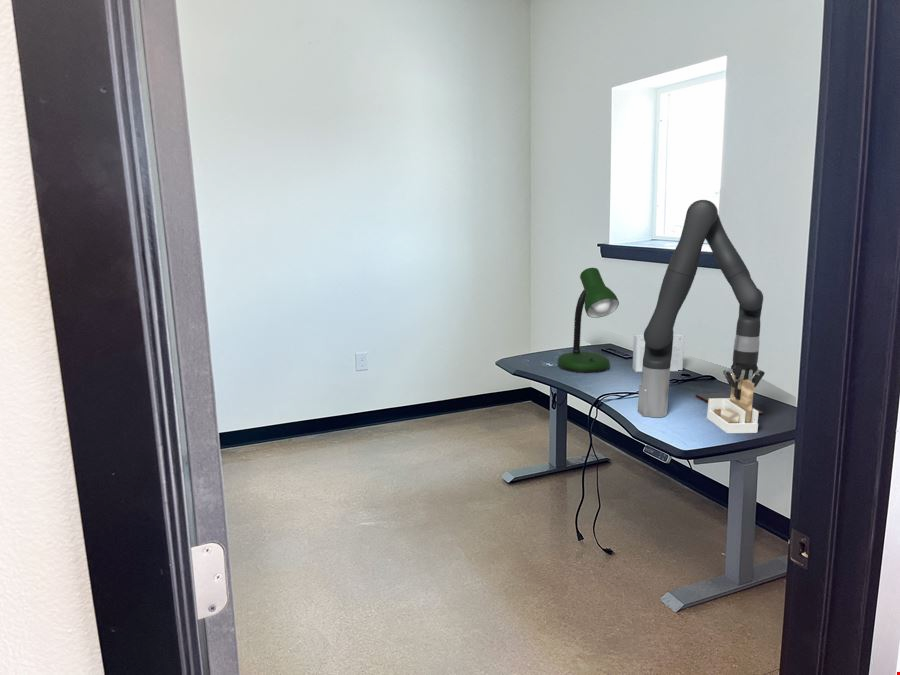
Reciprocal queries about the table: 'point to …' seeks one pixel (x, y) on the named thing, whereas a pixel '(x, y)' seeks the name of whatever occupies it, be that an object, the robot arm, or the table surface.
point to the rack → (732, 427)
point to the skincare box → (676, 352)
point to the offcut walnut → (717, 412)
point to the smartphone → (707, 396)
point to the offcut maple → (729, 415)
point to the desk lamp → (596, 305)
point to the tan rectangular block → (744, 398)
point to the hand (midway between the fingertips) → (741, 399)
